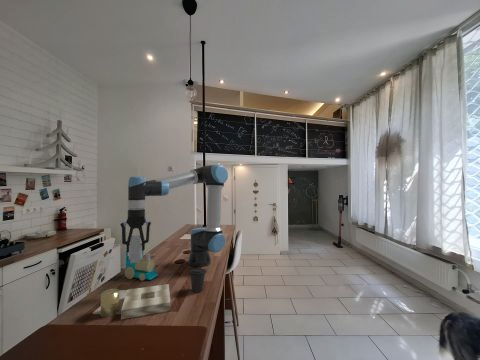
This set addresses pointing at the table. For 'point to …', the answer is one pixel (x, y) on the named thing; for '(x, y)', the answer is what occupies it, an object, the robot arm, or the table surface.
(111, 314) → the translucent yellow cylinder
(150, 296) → the socket board
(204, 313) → the table surface
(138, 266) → the toy train
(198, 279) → the coffee cup
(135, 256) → the square bit
